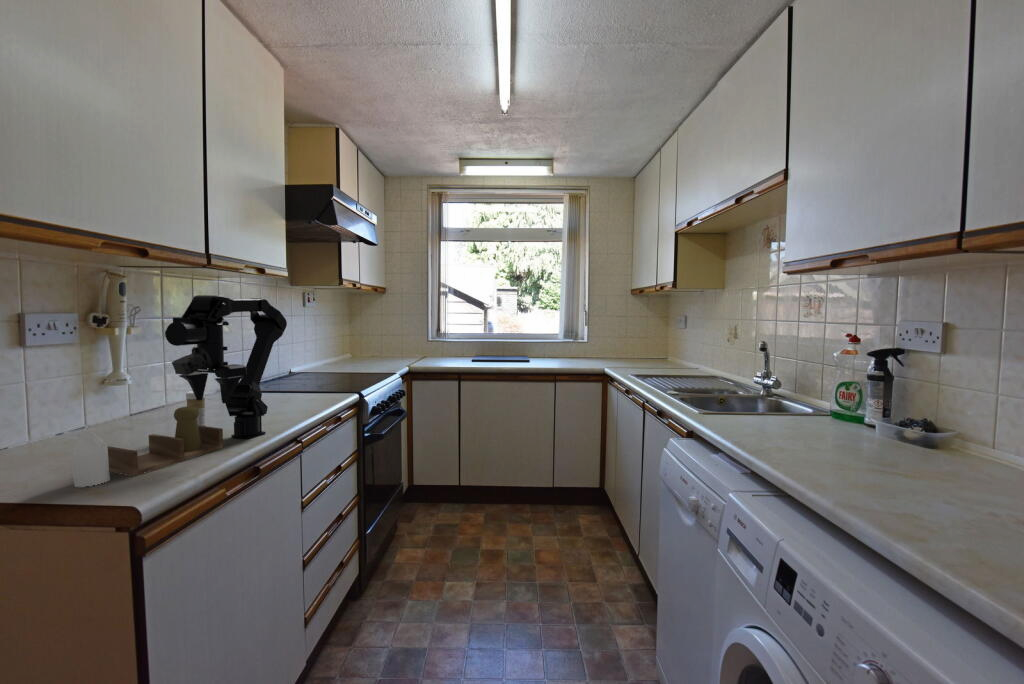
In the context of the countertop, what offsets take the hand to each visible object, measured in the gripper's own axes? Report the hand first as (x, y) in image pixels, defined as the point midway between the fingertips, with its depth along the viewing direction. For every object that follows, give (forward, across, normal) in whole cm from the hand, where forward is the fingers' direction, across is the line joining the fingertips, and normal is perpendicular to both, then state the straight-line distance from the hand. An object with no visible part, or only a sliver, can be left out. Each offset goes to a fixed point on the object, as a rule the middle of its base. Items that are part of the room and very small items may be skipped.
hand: (212, 401), depth 113 cm
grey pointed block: (+13, -3, -25) cm, 28 cm away
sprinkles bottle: (+13, -16, +7) cm, 22 cm away
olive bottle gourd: (+12, -4, -4) cm, 13 cm away
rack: (+13, -4, -9) cm, 16 cm away
